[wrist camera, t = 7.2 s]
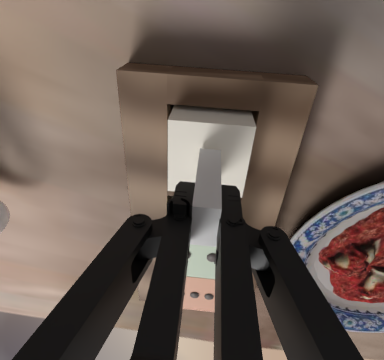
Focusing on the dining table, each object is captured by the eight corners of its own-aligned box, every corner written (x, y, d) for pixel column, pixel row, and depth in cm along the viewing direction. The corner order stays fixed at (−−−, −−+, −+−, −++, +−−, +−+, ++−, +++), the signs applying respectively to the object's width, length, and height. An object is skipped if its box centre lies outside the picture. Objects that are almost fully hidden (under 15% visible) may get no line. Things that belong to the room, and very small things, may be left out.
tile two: (172, 194, 25) (164, 228, 21) (235, 200, 25) (238, 235, 21) (171, 239, 28) (164, 274, 24) (227, 244, 28) (228, 281, 24)
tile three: (173, 243, 31) (167, 275, 27) (224, 248, 31) (225, 281, 27) (172, 275, 34) (167, 307, 31) (218, 279, 34) (218, 313, 30)
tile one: (176, 100, 21) (167, 120, 18) (249, 106, 21) (256, 127, 17) (175, 163, 25) (167, 191, 21) (238, 169, 25) (242, 198, 21)
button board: (128, 62, 21) (116, 70, 18) (306, 75, 20) (318, 85, 18) (144, 280, 36) (139, 300, 34) (245, 290, 36) (247, 312, 33)
